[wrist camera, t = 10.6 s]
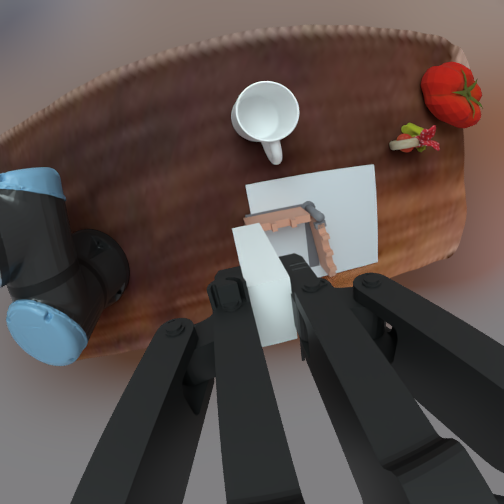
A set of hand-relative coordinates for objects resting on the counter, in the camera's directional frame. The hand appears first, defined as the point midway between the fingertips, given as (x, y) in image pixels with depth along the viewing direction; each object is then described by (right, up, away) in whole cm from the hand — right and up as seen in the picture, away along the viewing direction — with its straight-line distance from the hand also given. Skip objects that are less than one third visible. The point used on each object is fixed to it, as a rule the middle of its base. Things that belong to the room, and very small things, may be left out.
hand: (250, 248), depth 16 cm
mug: (+1, +20, +28) cm, 34 cm away
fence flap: (+12, +2, +35) cm, 37 cm away
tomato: (+38, +33, +28) cm, 58 cm away
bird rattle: (+28, +21, +31) cm, 47 cm away
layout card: (+12, +4, +35) cm, 38 cm away
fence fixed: (+5, +6, +33) cm, 34 cm away
